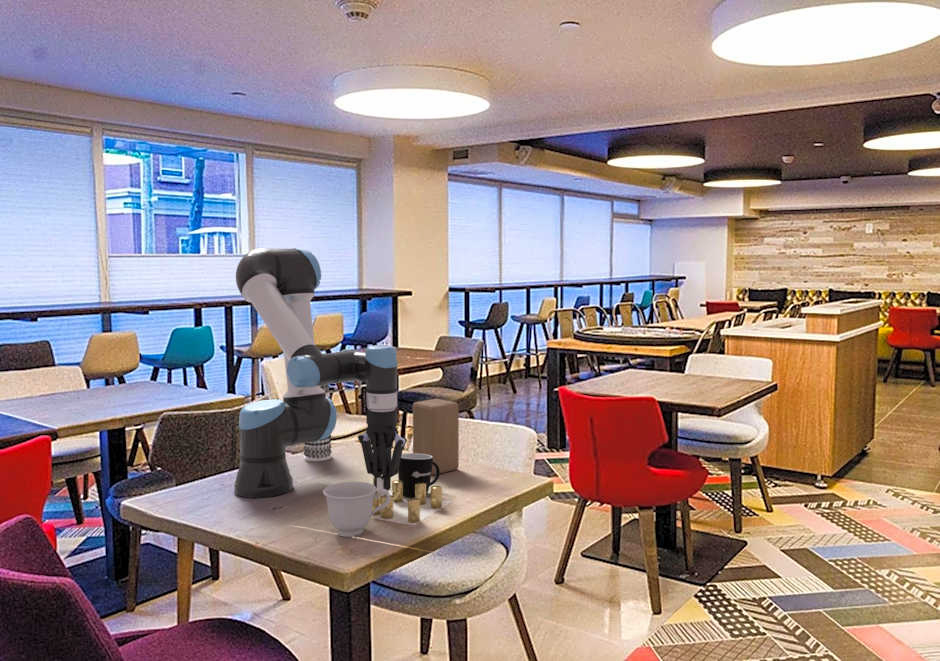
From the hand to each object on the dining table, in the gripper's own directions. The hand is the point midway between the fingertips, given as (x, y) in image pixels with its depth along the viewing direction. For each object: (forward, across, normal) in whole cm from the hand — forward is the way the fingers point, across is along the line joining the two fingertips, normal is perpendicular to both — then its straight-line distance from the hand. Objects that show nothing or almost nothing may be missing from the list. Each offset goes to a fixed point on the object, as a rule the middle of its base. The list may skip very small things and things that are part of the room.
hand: (382, 502), depth 188 cm
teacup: (+1, +4, -17) cm, 18 cm away
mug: (+1, +3, +12) cm, 13 cm away
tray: (+1, +2, +1) cm, 3 cm away
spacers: (+1, +4, 0) cm, 4 cm away
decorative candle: (+2, -44, +32) cm, 54 cm away
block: (+2, -4, +36) cm, 36 cm away
